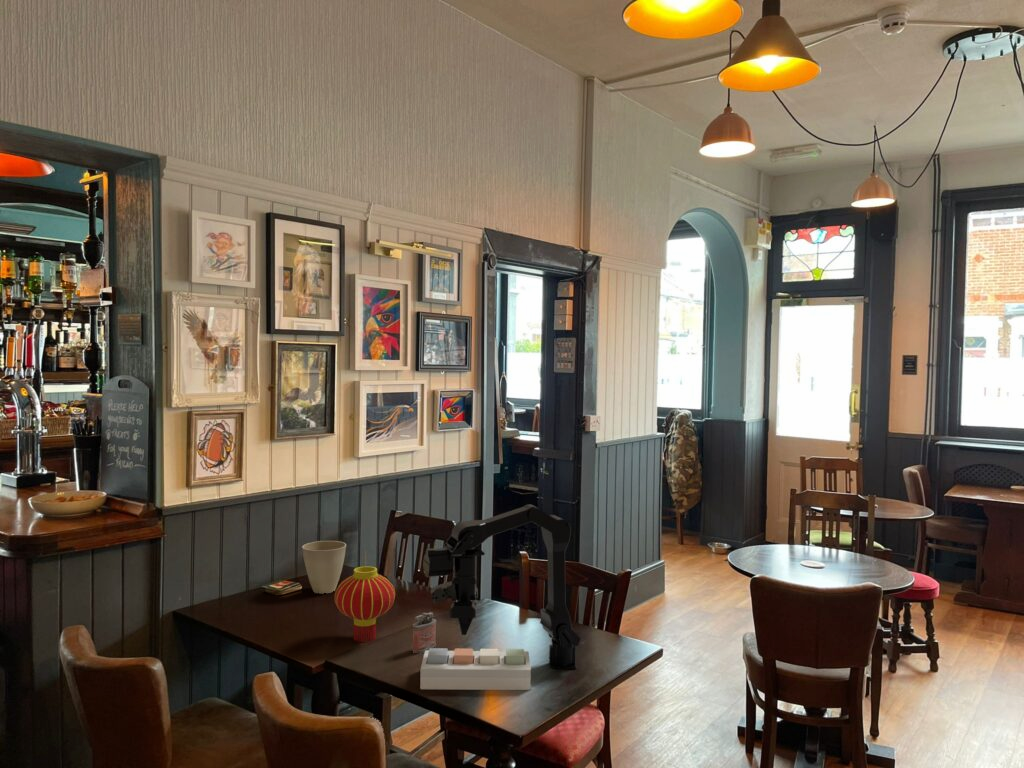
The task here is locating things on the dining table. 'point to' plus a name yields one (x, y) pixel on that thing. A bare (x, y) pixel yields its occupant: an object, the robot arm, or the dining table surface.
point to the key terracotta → (463, 656)
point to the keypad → (476, 674)
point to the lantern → (364, 599)
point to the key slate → (437, 656)
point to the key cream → (488, 656)
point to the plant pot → (324, 564)
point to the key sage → (514, 656)
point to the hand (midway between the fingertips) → (463, 634)
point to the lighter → (424, 633)
